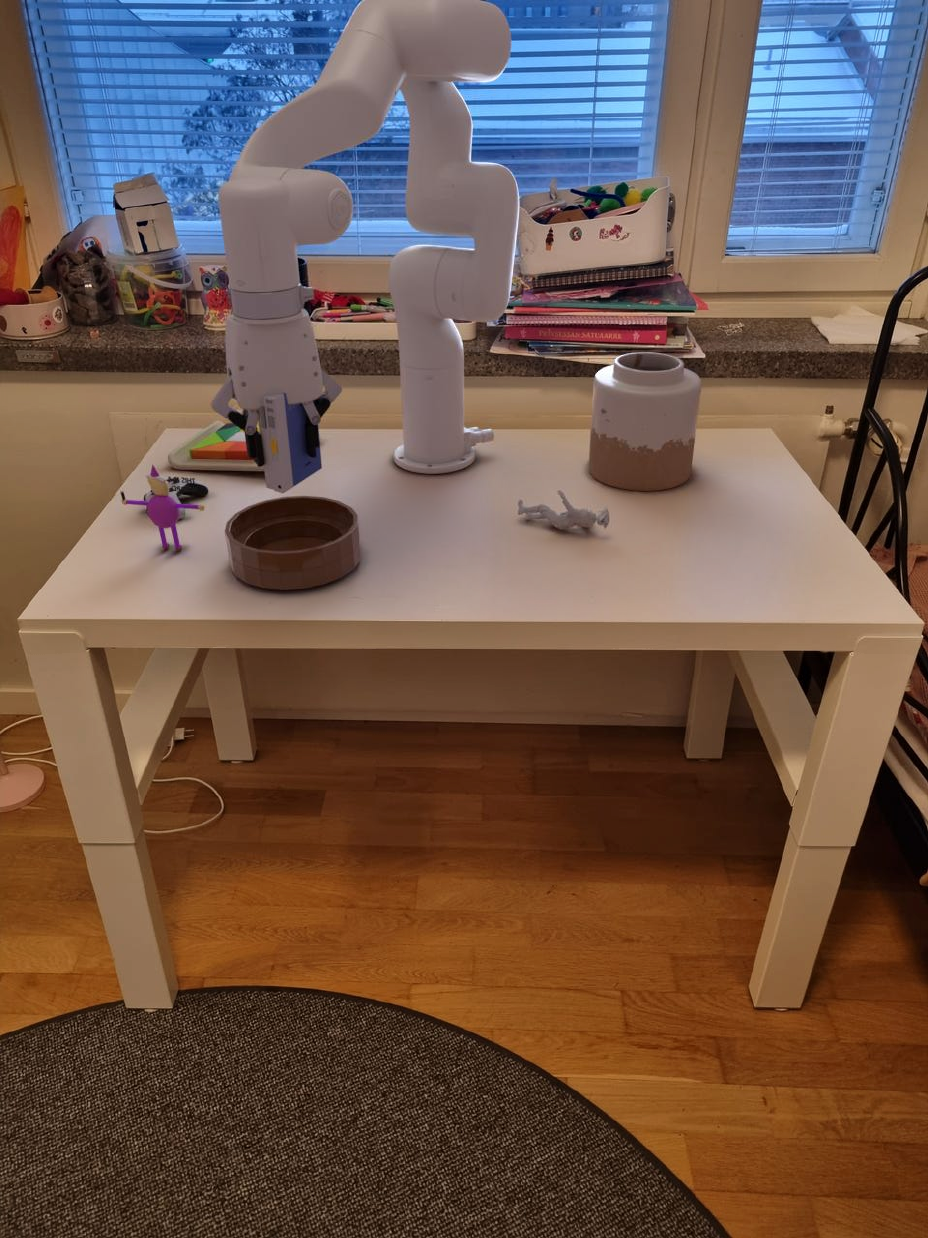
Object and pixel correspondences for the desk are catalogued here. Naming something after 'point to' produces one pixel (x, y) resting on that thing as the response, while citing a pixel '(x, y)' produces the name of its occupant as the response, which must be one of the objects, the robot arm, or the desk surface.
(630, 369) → the vase
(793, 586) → the desk surface
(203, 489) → the game controller
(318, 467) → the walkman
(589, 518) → the soldier figure
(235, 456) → the wooden puzzle
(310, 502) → the bowl
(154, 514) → the wizard figurine
